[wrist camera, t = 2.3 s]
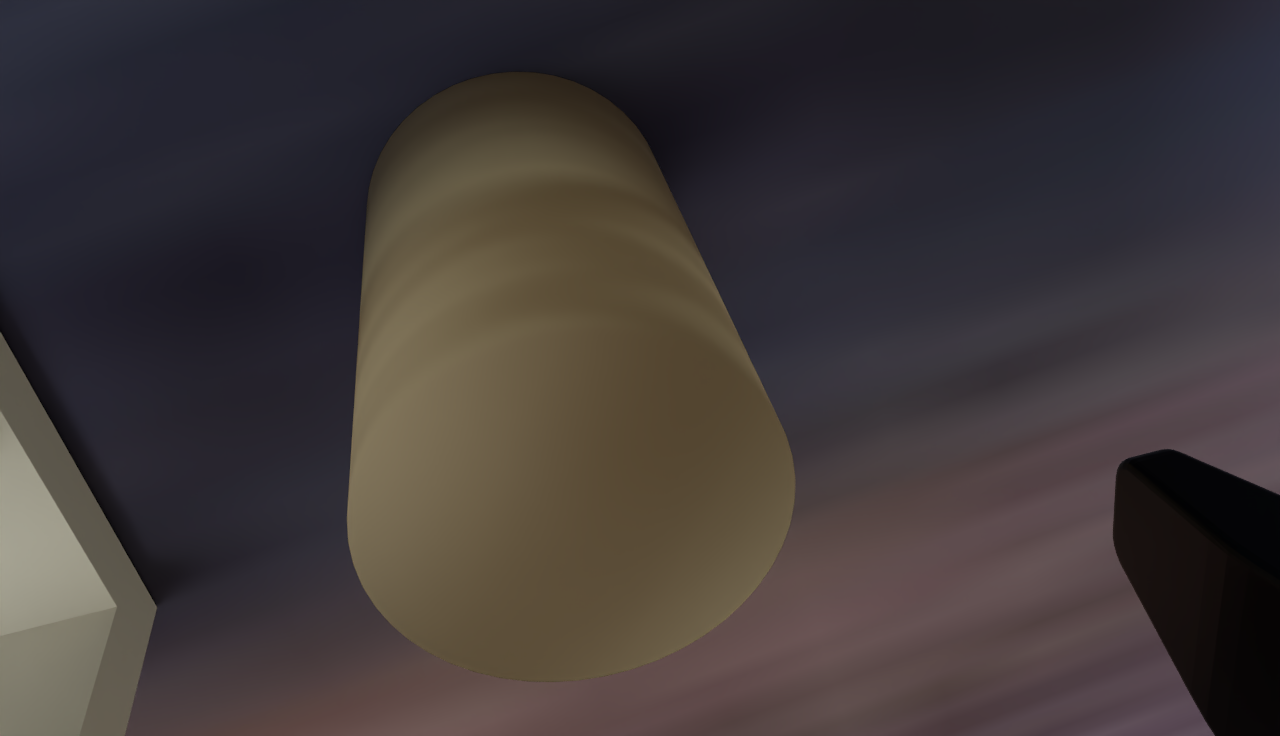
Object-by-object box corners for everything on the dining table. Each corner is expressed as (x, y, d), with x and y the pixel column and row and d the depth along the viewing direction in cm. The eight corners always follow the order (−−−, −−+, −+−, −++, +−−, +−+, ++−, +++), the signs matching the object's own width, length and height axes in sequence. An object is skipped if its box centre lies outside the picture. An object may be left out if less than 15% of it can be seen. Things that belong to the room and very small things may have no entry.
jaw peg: (711, 132, 16) (873, 398, 10) (597, 374, 17) (684, 711, 12) (422, 25, 14) (433, 266, 9) (329, 299, 16) (292, 640, 11)
